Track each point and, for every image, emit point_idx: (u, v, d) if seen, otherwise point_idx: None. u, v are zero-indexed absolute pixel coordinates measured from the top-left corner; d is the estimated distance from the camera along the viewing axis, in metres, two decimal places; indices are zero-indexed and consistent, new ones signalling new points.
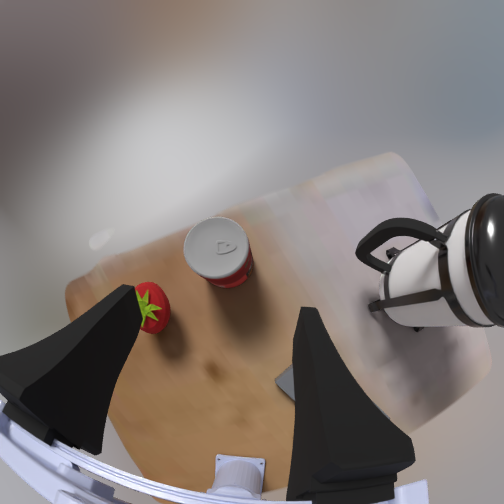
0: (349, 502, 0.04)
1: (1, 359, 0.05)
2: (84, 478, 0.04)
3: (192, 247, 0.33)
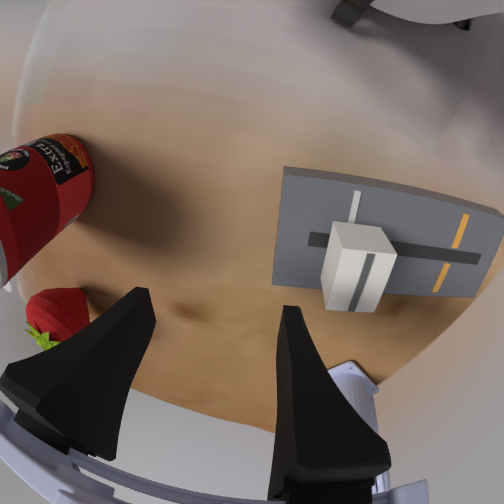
0: None
1: (13, 367, 0.05)
2: (84, 478, 0.04)
3: None
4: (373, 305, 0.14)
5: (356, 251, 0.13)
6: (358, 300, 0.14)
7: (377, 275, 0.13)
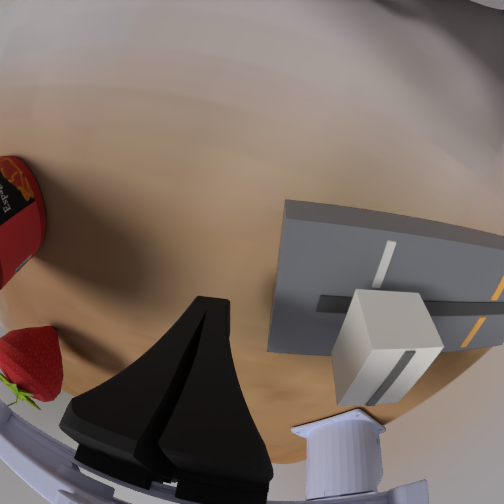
0: (210, 499, 0.04)
1: (79, 402, 0.05)
2: (84, 478, 0.04)
3: None
4: (398, 397, 0.09)
5: (391, 351, 0.08)
6: (381, 395, 0.09)
7: (412, 370, 0.08)
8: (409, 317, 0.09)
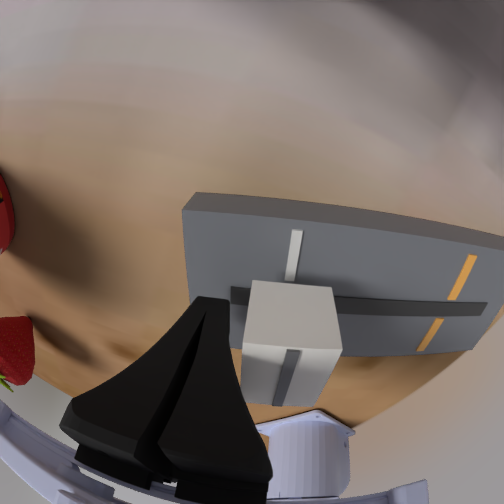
0: (210, 499, 0.04)
1: (79, 402, 0.05)
2: (84, 478, 0.04)
3: None
4: (310, 401, 0.09)
5: (268, 347, 0.08)
6: (285, 396, 0.09)
7: (310, 373, 0.08)
8: (306, 313, 0.09)
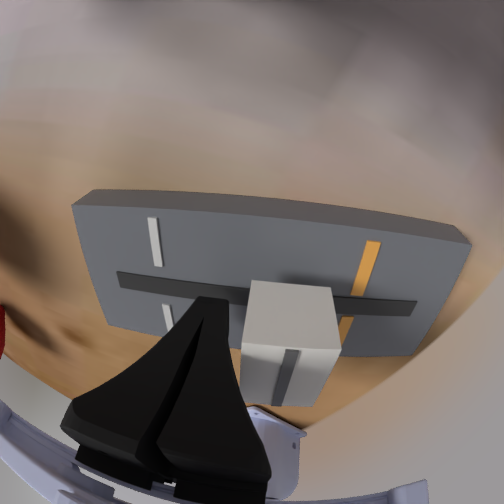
0: (209, 499, 0.04)
1: (80, 402, 0.05)
2: (84, 478, 0.04)
3: None
4: (309, 401, 0.09)
5: (266, 347, 0.08)
6: (284, 395, 0.09)
7: (309, 373, 0.08)
8: (305, 313, 0.09)
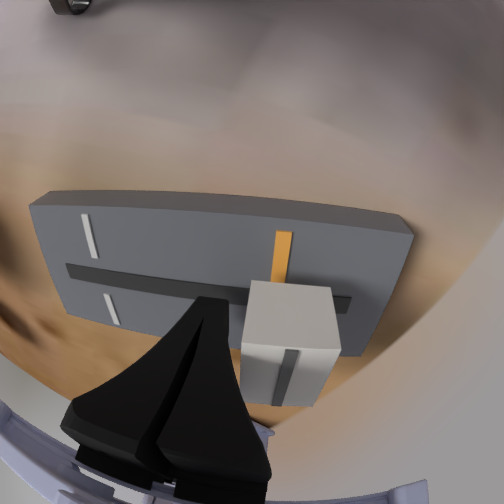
0: (209, 499, 0.04)
1: (80, 402, 0.05)
2: (84, 478, 0.04)
3: None
4: (309, 401, 0.09)
5: (266, 347, 0.08)
6: (284, 395, 0.09)
7: (309, 373, 0.08)
8: (305, 313, 0.09)
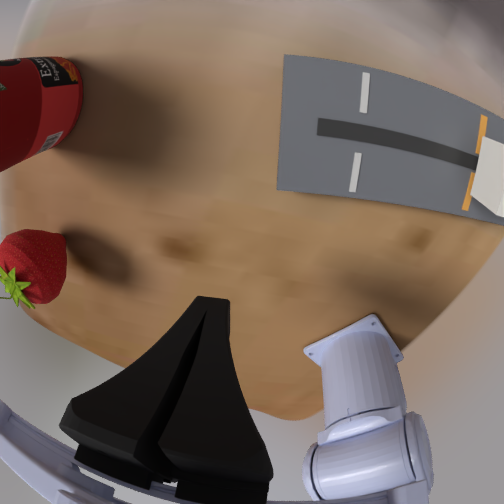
0: (210, 499, 0.04)
1: (79, 402, 0.05)
2: (84, 478, 0.04)
3: None
4: None
5: None
6: None
7: None
8: None
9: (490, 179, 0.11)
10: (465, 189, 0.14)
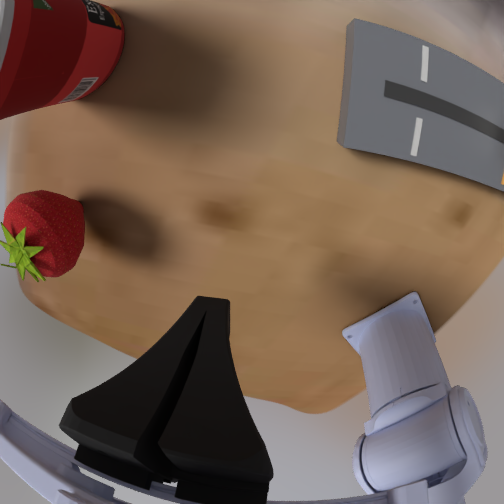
0: (210, 499, 0.04)
1: (79, 402, 0.05)
2: (84, 478, 0.04)
3: None
4: None
5: None
6: None
7: None
8: None
9: None
10: None
